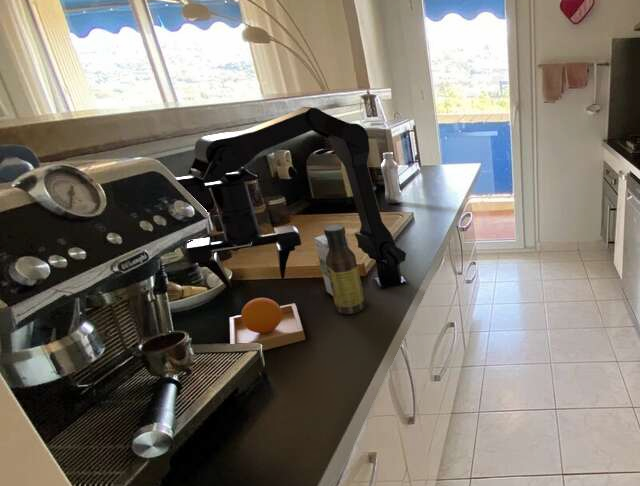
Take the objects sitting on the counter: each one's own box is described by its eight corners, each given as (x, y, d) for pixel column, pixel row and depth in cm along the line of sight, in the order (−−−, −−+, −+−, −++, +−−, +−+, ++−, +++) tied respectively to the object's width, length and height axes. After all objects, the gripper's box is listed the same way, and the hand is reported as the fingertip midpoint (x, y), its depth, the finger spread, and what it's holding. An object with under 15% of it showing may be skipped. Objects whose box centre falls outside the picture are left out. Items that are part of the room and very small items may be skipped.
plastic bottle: (400, 205, 181) (394, 154, 172) (383, 205, 181) (376, 154, 173) (404, 201, 187) (398, 151, 178) (388, 200, 187) (381, 151, 178)
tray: (305, 339, 91) (303, 330, 90) (233, 358, 85) (230, 348, 84) (297, 311, 101) (295, 303, 100) (232, 326, 95) (229, 317, 94)
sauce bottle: (342, 302, 106) (326, 221, 97) (369, 302, 106) (355, 222, 97) (331, 315, 100) (313, 231, 91) (359, 316, 100) (343, 231, 91)
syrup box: (358, 292, 111) (348, 236, 104) (335, 300, 107) (323, 243, 100) (348, 285, 114) (337, 231, 108) (325, 292, 110) (313, 237, 104)
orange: (288, 332, 92) (278, 303, 88) (248, 344, 89) (236, 314, 85) (284, 316, 97) (274, 287, 94) (246, 326, 94) (235, 297, 90)
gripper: (285, 192, 93) (302, 260, 100) (176, 204, 84) (202, 279, 91) (292, 204, 85) (309, 278, 92) (171, 219, 76) (201, 300, 83)
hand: (257, 283), depth 90 cm, fingers open, 9 cm apart
